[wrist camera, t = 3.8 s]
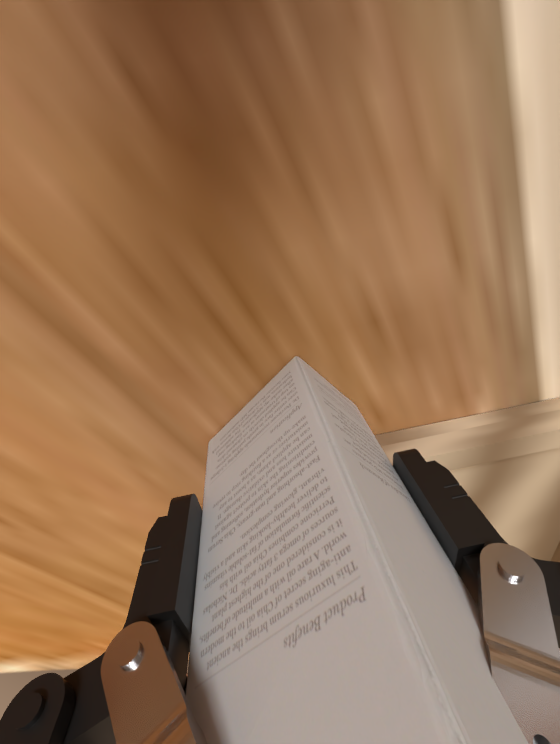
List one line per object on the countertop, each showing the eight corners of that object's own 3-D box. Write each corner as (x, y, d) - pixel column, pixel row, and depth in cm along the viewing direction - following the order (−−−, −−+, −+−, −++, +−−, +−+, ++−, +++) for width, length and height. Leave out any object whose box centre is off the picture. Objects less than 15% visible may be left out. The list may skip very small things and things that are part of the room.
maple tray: (632, 382, 17) (678, 404, 15) (551, 559, 24) (575, 587, 23) (329, 444, 16) (341, 475, 14) (346, 605, 24) (354, 637, 22)
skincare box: (273, 478, 17) (336, 947, 6) (206, 439, 15) (141, 1000, 5) (361, 402, 15) (646, 871, 5) (297, 349, 13) (528, 909, 3)
